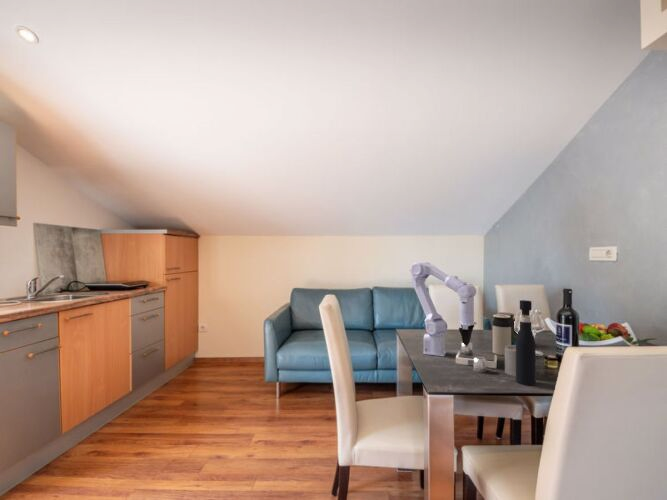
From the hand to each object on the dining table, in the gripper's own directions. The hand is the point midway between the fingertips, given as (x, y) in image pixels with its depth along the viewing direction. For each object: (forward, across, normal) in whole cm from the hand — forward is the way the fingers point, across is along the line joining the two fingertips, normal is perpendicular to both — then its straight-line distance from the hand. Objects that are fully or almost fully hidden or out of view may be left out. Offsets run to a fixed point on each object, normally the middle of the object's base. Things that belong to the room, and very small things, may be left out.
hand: (466, 342), depth 159 cm
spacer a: (+5, 0, 0) cm, 5 cm away
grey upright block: (+8, -7, -20) cm, 23 cm away
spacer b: (+8, -12, -6) cm, 16 cm away
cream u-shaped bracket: (+8, 0, -4) cm, 9 cm away
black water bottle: (+8, -19, -22) cm, 30 cm away
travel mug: (+8, +20, -14) cm, 26 cm away
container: (+8, +40, -16) cm, 44 cm away
